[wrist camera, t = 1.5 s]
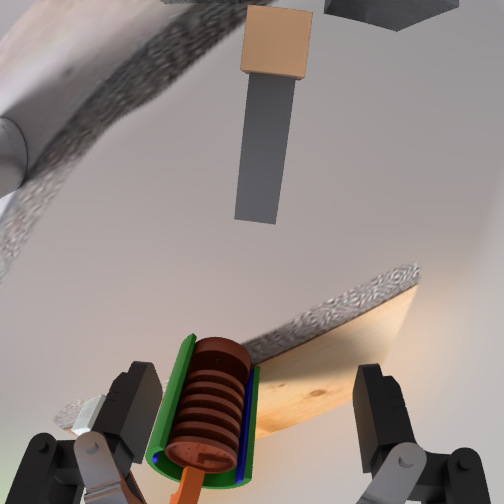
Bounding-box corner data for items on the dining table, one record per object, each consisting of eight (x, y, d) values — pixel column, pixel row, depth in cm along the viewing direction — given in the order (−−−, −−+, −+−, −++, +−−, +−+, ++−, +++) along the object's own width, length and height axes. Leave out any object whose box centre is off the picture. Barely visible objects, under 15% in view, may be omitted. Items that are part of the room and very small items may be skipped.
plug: (280, 212, 30) (281, 235, 25) (232, 206, 30) (224, 228, 25) (306, 26, 22) (312, 12, 17) (253, 19, 22) (248, 4, 17)
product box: (129, 414, 48) (116, 447, 41) (110, 419, 50) (97, 450, 43) (102, 392, 46) (86, 426, 39) (85, 399, 48) (70, 430, 41)
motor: (269, 350, 38) (259, 511, 20) (245, 392, 42) (230, 528, 24) (186, 325, 37) (135, 482, 19) (173, 371, 41) (132, 504, 23)
